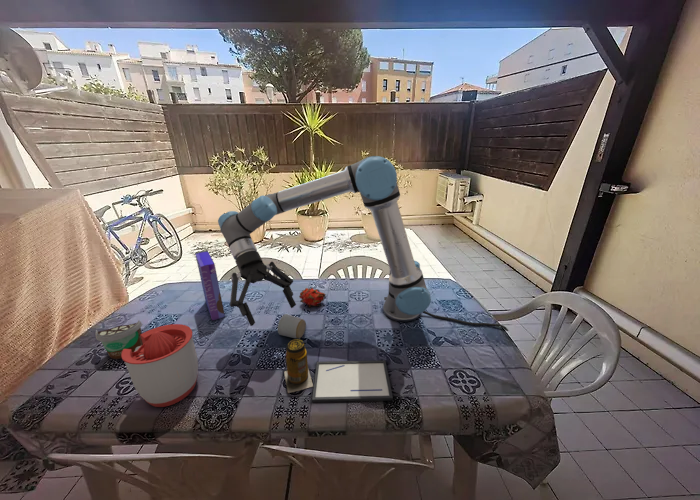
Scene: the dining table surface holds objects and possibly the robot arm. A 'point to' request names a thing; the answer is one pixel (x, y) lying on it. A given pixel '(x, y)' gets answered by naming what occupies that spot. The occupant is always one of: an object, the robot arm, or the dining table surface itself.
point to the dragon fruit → (312, 297)
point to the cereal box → (210, 284)
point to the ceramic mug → (291, 326)
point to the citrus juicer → (163, 365)
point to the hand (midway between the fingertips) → (274, 315)
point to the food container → (120, 339)
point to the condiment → (297, 367)
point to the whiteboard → (351, 381)
